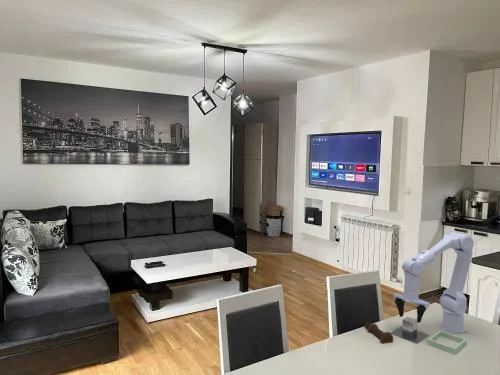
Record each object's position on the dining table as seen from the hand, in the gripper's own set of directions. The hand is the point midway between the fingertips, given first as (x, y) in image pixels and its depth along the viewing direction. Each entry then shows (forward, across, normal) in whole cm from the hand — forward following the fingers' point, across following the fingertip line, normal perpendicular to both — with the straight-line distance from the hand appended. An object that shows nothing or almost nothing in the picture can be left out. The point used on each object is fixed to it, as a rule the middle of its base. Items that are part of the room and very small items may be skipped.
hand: (410, 319), depth 156 cm
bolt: (+8, -9, -11) cm, 16 cm away
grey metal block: (+7, 0, 0) cm, 7 cm away
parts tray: (+8, +14, +3) cm, 16 cm away
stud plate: (+8, 0, 0) cm, 8 cm away
